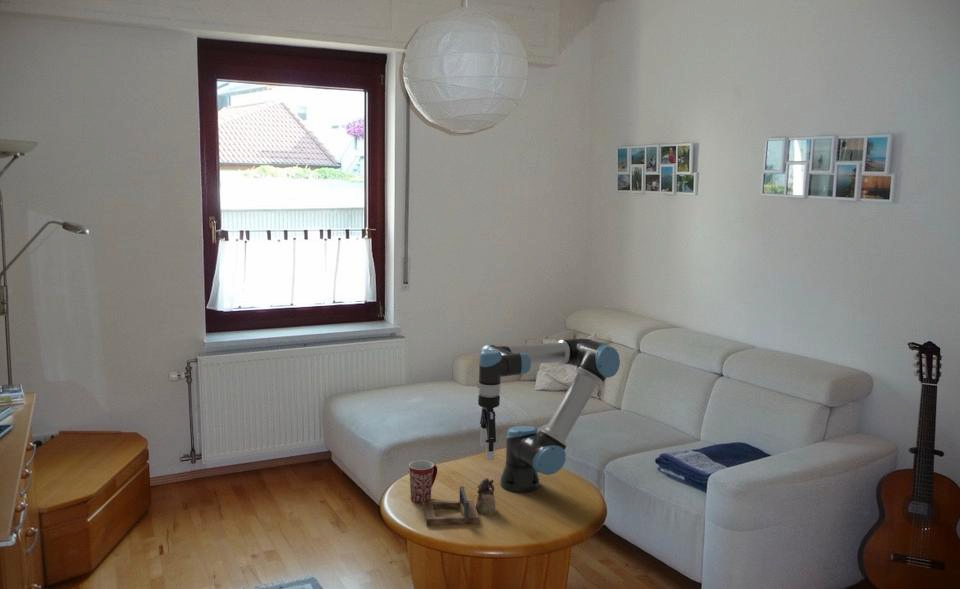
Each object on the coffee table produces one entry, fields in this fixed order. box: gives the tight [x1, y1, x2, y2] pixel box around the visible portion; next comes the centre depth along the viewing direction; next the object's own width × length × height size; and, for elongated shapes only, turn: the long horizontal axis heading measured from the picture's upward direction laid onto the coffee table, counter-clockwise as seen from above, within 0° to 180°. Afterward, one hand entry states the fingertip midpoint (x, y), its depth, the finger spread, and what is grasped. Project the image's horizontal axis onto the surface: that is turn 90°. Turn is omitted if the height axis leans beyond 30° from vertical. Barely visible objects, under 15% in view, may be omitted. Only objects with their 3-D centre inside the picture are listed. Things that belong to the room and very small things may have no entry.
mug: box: [408, 459, 438, 505], centre depth 292 cm, size 13×9×14 cm
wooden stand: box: [422, 486, 480, 527], centre depth 278 cm, size 18×14×8 cm
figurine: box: [475, 477, 496, 515], centre depth 284 cm, size 7×7×12 cm
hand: (487, 452), depth 282 cm, fingers open, 13 cm apart
